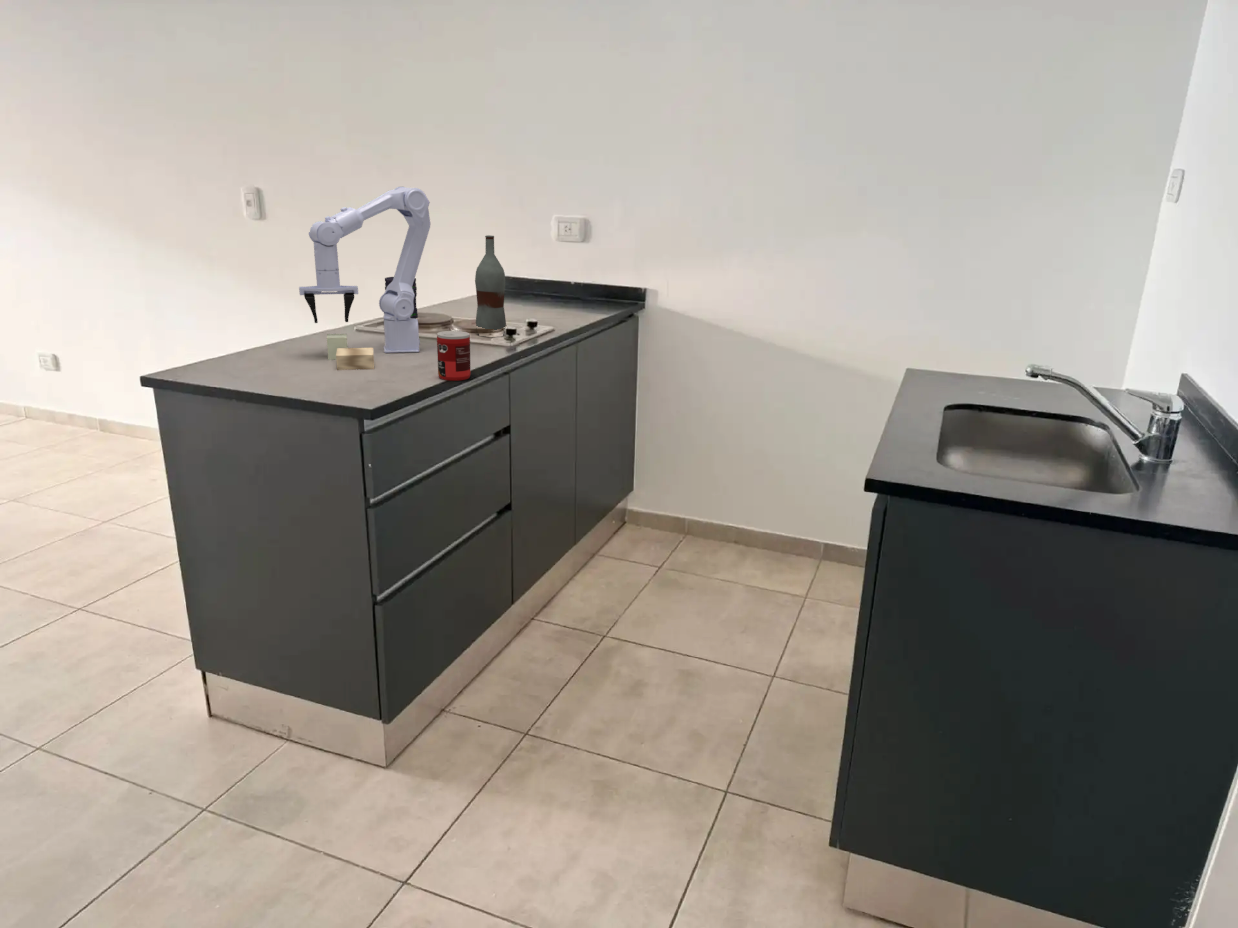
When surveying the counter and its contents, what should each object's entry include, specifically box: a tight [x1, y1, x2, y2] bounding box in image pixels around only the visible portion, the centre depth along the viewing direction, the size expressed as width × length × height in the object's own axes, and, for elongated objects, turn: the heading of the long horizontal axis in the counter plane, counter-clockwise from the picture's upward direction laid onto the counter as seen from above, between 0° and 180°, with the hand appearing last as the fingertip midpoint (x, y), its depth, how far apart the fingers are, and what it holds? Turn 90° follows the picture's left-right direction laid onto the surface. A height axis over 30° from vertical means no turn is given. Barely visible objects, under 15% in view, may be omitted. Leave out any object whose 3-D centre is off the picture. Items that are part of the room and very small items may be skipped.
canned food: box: [436, 330, 471, 382], centre depth 209 cm, size 8×8×11 cm
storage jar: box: [384, 276, 419, 319], centre depth 271 cm, size 10×10×15 cm
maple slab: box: [335, 347, 375, 371], centre depth 218 cm, size 9×9×4 cm
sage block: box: [326, 333, 349, 361], centre depth 225 cm, size 5×5×6 cm
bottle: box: [474, 234, 507, 330], centre depth 259 cm, size 9×9×30 cm
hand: (331, 322), depth 224 cm, fingers open, 7 cm apart
